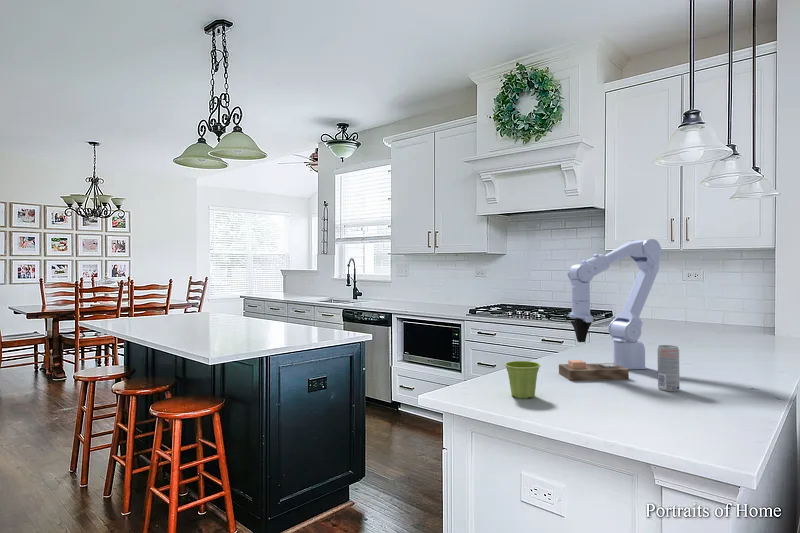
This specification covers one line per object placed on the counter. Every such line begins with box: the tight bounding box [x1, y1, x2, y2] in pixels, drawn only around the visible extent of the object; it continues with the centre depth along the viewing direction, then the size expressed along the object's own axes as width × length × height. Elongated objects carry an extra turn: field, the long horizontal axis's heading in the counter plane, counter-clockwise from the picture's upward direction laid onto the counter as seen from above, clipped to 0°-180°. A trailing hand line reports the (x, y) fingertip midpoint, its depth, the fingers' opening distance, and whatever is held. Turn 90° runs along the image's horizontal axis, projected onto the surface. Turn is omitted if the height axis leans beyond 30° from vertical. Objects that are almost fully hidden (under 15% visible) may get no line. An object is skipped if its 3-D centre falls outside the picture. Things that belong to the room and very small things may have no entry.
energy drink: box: [657, 344, 681, 393], centre depth 145 cm, size 5×5×12 cm
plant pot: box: [504, 360, 541, 399], centre depth 140 cm, size 9×9×9 cm
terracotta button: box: [567, 359, 587, 369], centre depth 162 cm, size 4×4×3 cm
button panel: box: [558, 362, 630, 382], centre depth 162 cm, size 18×10×3 cm, turn 92°
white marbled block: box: [599, 364, 618, 368], centre depth 162 cm, size 4×4×3 cm
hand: (581, 341), depth 171 cm, fingers closed
